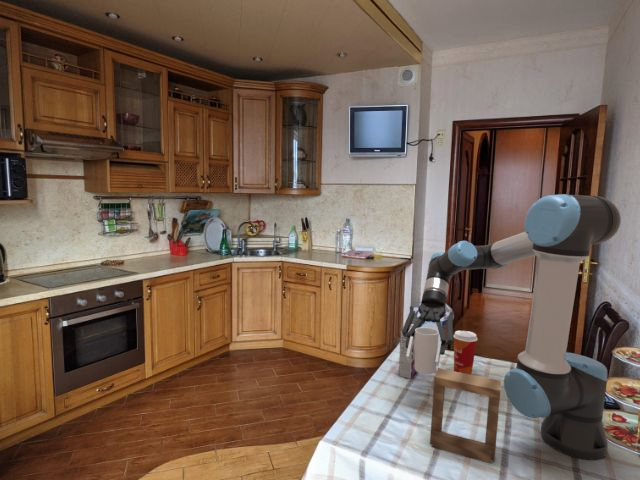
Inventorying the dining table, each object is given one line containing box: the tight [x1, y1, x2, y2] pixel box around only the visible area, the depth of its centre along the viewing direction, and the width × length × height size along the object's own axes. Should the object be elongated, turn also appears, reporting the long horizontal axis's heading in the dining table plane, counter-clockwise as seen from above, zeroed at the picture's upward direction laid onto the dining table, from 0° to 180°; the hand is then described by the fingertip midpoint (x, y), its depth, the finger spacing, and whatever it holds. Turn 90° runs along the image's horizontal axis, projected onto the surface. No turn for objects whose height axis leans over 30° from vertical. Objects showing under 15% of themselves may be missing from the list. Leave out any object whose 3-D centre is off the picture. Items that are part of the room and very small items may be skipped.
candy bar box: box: [398, 323, 417, 380], centre depth 150 cm, size 11×5×16 cm, turn 155°
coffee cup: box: [453, 330, 479, 375], centre depth 150 cm, size 8×8×15 cm
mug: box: [414, 326, 440, 375], centre depth 125 cm, size 10×7×12 cm, turn 17°
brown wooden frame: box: [429, 367, 502, 464], centre depth 106 cm, size 15×7×18 cm, turn 65°
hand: (422, 360), depth 122 cm, fingers closed on mug, 8 cm apart
